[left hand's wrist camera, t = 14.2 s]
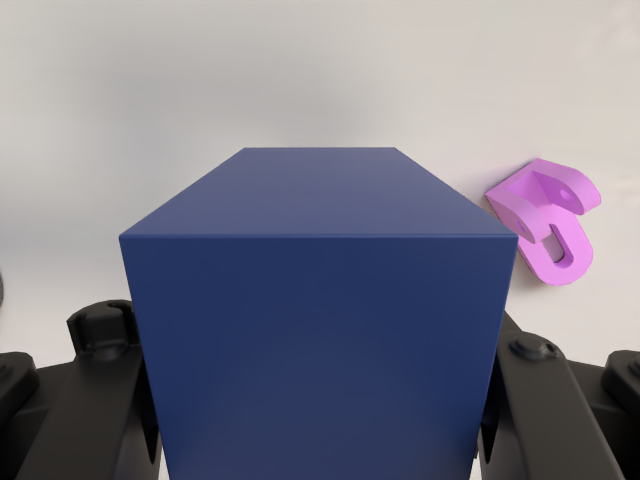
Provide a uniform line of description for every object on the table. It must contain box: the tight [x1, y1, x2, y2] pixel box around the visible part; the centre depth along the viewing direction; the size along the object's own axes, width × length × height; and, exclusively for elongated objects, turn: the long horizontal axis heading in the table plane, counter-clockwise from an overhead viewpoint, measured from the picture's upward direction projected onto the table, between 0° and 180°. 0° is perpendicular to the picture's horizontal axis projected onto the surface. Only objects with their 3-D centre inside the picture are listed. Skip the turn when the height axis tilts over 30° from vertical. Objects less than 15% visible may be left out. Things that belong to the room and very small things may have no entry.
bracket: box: [485, 158, 601, 286], centre depth 34 cm, size 13×6×7 cm, turn 37°
